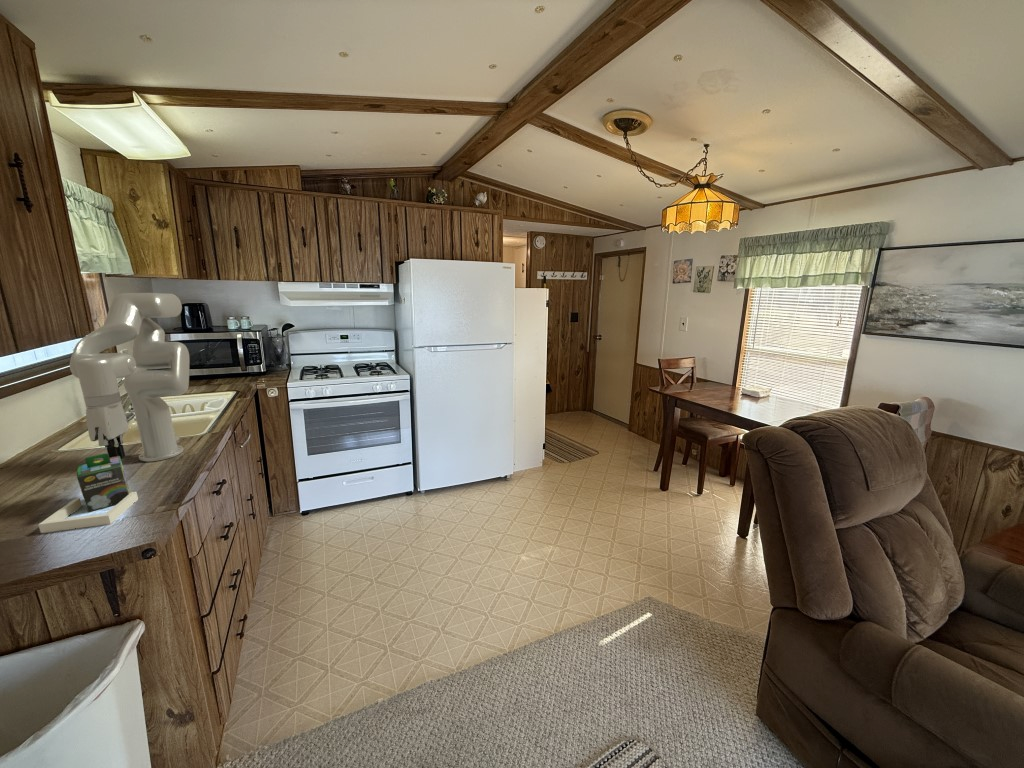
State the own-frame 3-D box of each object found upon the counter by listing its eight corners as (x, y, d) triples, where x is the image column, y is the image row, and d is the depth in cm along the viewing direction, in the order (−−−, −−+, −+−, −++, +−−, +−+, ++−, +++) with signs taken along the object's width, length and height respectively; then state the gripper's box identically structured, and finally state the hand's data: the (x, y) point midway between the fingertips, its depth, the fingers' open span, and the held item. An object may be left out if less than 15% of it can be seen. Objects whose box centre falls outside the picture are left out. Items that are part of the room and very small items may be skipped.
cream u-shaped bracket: (76, 506, 117) (74, 498, 116) (138, 499, 121) (136, 491, 120) (41, 533, 105) (38, 524, 104) (110, 523, 109) (108, 515, 108)
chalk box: (129, 489, 126) (118, 444, 123) (131, 500, 120) (119, 453, 116) (87, 500, 120) (73, 453, 116) (86, 513, 114) (72, 463, 110)
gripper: (103, 394, 126) (117, 450, 130) (68, 408, 112) (85, 470, 116) (133, 392, 128) (145, 447, 132) (103, 406, 114) (118, 467, 118)
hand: (117, 458), depth 124 cm, fingers closed
